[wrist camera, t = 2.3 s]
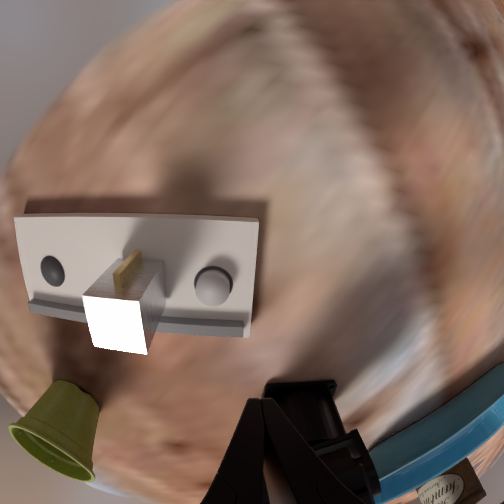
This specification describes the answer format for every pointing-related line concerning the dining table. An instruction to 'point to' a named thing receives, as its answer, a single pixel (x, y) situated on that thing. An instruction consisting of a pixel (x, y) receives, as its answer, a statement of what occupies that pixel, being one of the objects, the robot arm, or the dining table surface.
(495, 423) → the casserole dish
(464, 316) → the dining table surface
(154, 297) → the slider
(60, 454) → the plant pot
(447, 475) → the wooden container
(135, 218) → the plate
